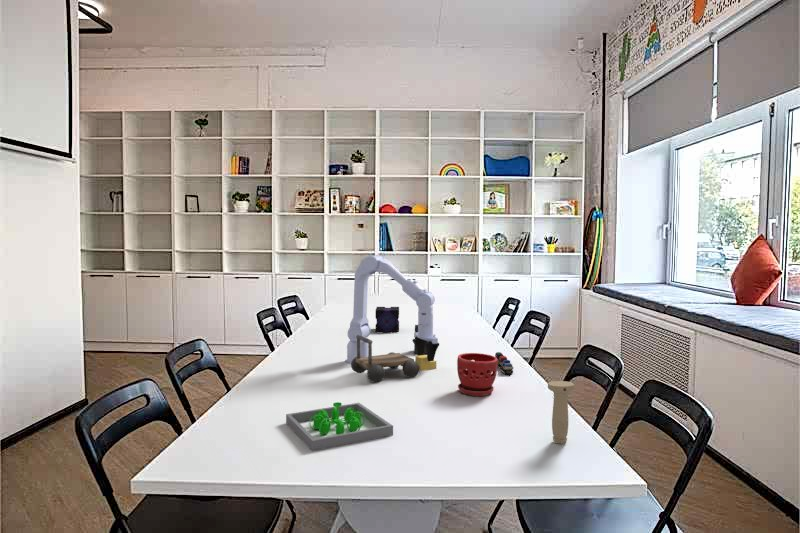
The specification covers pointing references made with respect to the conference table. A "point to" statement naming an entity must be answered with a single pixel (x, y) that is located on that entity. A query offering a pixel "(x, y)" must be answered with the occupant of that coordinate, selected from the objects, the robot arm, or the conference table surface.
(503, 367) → the toy train
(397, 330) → the energy cube
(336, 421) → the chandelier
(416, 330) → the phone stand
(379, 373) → the trolley
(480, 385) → the plant pot
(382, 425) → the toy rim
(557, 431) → the handle
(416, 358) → the yellow step block
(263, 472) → the conference table surface
